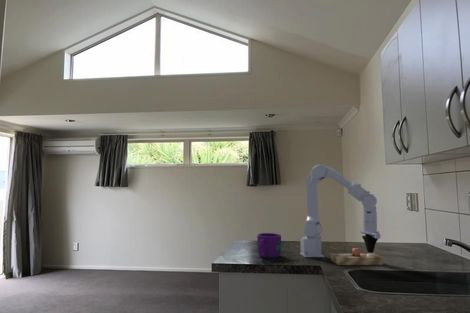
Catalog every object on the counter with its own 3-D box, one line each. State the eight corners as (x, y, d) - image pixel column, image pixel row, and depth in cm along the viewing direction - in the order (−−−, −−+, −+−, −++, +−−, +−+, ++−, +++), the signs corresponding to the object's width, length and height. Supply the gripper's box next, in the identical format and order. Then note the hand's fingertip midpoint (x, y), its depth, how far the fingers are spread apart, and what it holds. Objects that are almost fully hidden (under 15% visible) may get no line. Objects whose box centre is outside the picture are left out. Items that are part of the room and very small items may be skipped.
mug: (263, 252, 166) (263, 232, 166) (284, 255, 160) (284, 234, 161) (247, 259, 150) (247, 237, 151) (271, 262, 145) (271, 239, 146)
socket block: (337, 265, 141) (337, 257, 142) (331, 260, 149) (331, 253, 150) (383, 264, 143) (382, 257, 143) (374, 260, 151) (373, 253, 151)
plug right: (368, 262, 145) (368, 255, 145) (365, 260, 148) (365, 253, 148) (376, 262, 145) (375, 255, 145) (372, 260, 148) (372, 253, 149)
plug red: (354, 256, 145) (354, 249, 145) (351, 255, 148) (351, 248, 148) (361, 256, 145) (361, 249, 145) (358, 255, 148) (358, 247, 148)
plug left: (340, 262, 144) (339, 255, 144) (337, 261, 147) (337, 253, 147) (347, 262, 144) (347, 255, 144) (344, 261, 147) (344, 253, 148)
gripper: (387, 223, 141) (387, 256, 140) (370, 219, 155) (371, 248, 154) (371, 223, 140) (371, 256, 140) (356, 219, 155) (356, 249, 154)
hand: (370, 252), depth 147 cm, fingers closed
